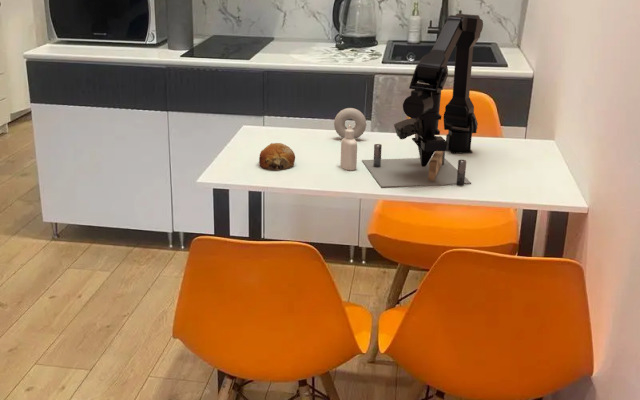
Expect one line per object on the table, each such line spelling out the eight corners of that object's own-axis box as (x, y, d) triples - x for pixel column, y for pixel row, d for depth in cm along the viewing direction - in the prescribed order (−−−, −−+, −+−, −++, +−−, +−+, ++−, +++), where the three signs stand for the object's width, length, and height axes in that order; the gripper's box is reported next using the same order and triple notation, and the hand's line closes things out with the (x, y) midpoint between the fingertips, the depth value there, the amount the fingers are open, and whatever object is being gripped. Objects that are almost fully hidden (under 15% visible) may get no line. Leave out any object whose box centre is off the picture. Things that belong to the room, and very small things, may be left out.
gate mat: (443, 158, 206) (443, 157, 206) (471, 184, 186) (471, 182, 186) (362, 161, 202) (362, 160, 202) (381, 187, 182) (381, 186, 182)
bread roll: (298, 177, 200) (303, 149, 200) (282, 171, 191) (288, 142, 191) (267, 171, 204) (272, 144, 204) (250, 166, 194) (256, 137, 195)
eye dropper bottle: (356, 164, 199) (357, 122, 195) (356, 171, 194) (357, 128, 190) (340, 164, 200) (341, 122, 195) (340, 170, 194) (341, 127, 190)
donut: (365, 138, 224) (367, 107, 220) (365, 141, 221) (366, 110, 217) (334, 137, 225) (334, 106, 221) (333, 140, 221) (333, 108, 218)
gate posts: (442, 164, 201) (444, 141, 199) (465, 185, 185) (467, 161, 182) (372, 166, 198) (373, 144, 196) (389, 189, 181) (390, 164, 179)
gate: (436, 163, 199) (437, 145, 197) (443, 163, 198) (444, 146, 196) (427, 180, 185) (429, 161, 183) (434, 180, 185) (436, 162, 183)
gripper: (389, 101, 194) (385, 155, 200) (407, 120, 177) (403, 179, 183) (429, 100, 195) (424, 154, 201) (451, 119, 178) (445, 178, 184)
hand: (423, 166), depth 192 cm, fingers closed
